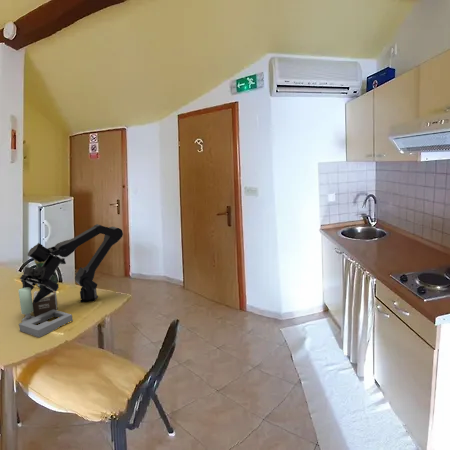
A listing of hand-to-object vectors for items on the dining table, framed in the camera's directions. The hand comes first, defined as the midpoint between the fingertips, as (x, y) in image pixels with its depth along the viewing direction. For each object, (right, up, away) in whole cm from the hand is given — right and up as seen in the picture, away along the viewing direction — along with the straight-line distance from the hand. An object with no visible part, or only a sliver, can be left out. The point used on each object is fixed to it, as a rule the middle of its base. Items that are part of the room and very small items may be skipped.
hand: (27, 300), depth 142 cm
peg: (0, -9, +1) cm, 9 cm away
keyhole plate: (+10, -9, -4) cm, 14 cm away
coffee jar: (-14, -1, +43) cm, 45 cm away
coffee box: (-3, -2, +19) cm, 20 cm away
